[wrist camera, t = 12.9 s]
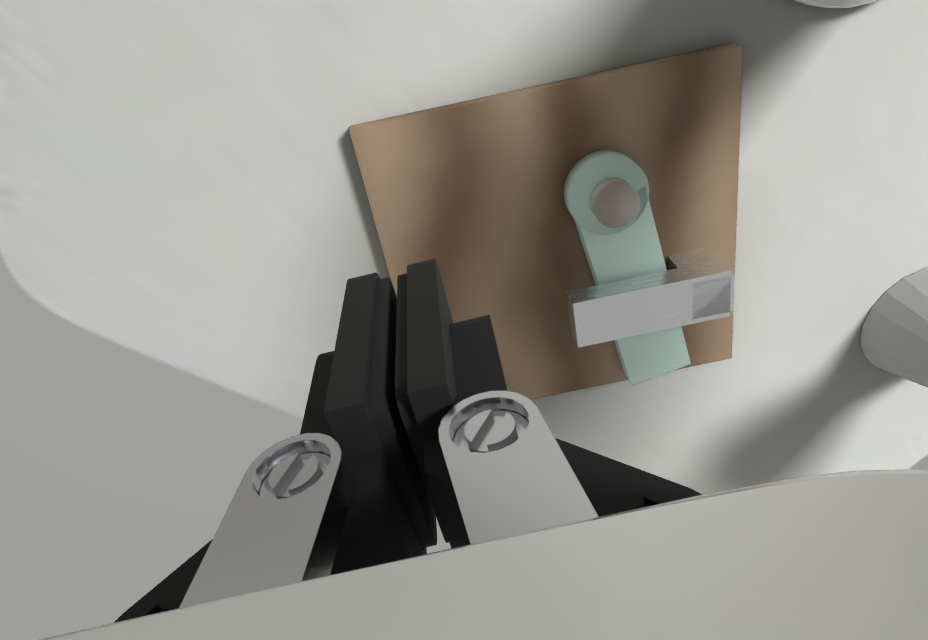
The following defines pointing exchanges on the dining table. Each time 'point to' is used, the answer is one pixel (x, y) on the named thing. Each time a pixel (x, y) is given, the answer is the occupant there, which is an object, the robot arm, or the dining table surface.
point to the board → (558, 200)
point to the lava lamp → (900, 329)
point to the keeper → (653, 300)
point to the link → (624, 257)
